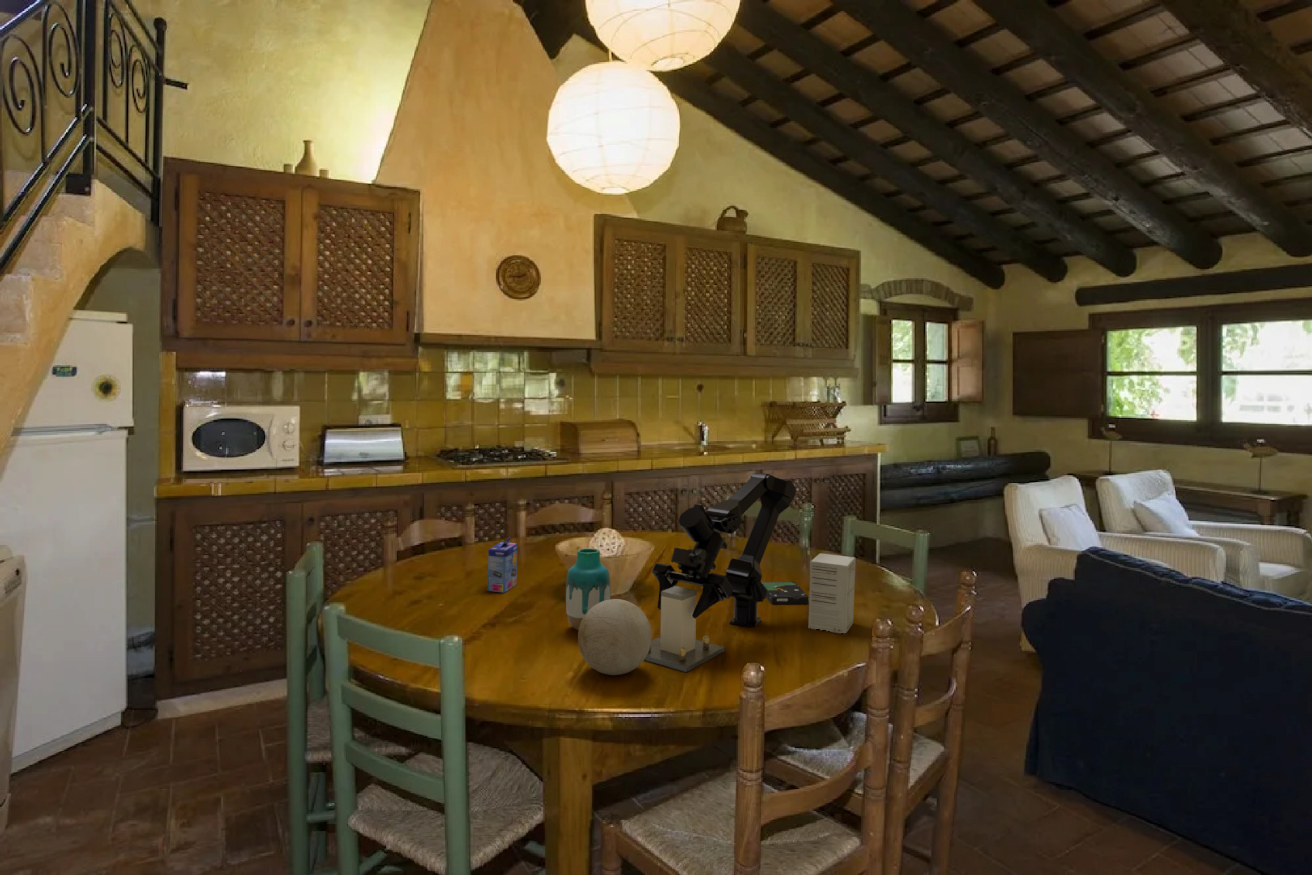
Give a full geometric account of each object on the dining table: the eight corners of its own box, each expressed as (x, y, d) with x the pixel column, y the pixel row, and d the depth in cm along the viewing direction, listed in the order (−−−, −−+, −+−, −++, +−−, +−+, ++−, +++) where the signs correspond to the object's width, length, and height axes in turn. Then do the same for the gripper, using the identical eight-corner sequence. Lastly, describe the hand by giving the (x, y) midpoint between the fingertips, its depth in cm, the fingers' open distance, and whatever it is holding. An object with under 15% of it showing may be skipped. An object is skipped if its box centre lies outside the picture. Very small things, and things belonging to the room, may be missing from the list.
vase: (557, 633, 178) (558, 553, 176) (577, 619, 187) (578, 543, 186) (598, 639, 174) (599, 557, 172) (617, 625, 184) (617, 547, 182)
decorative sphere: (653, 686, 148) (654, 611, 147) (576, 688, 147) (577, 612, 146) (648, 657, 163) (649, 589, 162) (578, 659, 162) (578, 590, 160)
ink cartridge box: (505, 593, 209) (505, 541, 208) (486, 592, 210) (486, 540, 209) (518, 583, 219) (518, 534, 218) (500, 582, 220) (499, 533, 218)
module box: (675, 642, 170) (676, 585, 168) (695, 648, 166) (696, 590, 165) (660, 649, 165) (661, 591, 164) (680, 655, 162) (681, 595, 161)
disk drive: (809, 606, 203) (794, 590, 218) (809, 596, 203) (795, 580, 217) (771, 607, 202) (759, 590, 217) (771, 596, 202) (759, 580, 217)
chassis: (668, 636, 176) (668, 622, 176) (723, 651, 167) (724, 636, 167) (628, 655, 164) (628, 639, 164) (686, 672, 155) (686, 655, 155)
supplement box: (817, 617, 192) (819, 552, 190) (853, 623, 188) (856, 556, 186) (807, 628, 183) (809, 560, 182) (845, 634, 179) (848, 565, 178)
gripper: (656, 527, 173) (626, 585, 165) (727, 539, 162) (698, 601, 154) (676, 555, 180) (647, 611, 172) (744, 567, 169) (717, 629, 161)
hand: (676, 613), depth 164 cm, fingers open, 9 cm apart
